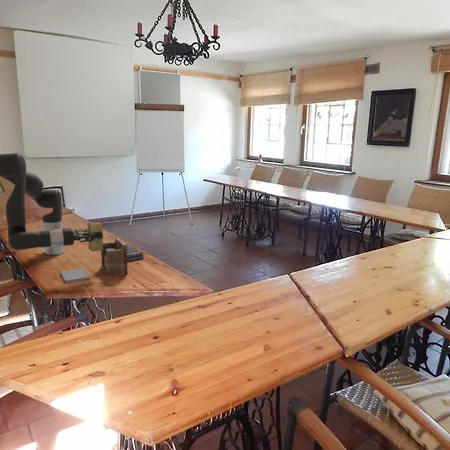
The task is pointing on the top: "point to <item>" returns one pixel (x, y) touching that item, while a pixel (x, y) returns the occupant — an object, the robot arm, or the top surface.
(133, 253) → the box
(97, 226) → the shoe polish box
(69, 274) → the rubber mat
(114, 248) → the offcut rack
